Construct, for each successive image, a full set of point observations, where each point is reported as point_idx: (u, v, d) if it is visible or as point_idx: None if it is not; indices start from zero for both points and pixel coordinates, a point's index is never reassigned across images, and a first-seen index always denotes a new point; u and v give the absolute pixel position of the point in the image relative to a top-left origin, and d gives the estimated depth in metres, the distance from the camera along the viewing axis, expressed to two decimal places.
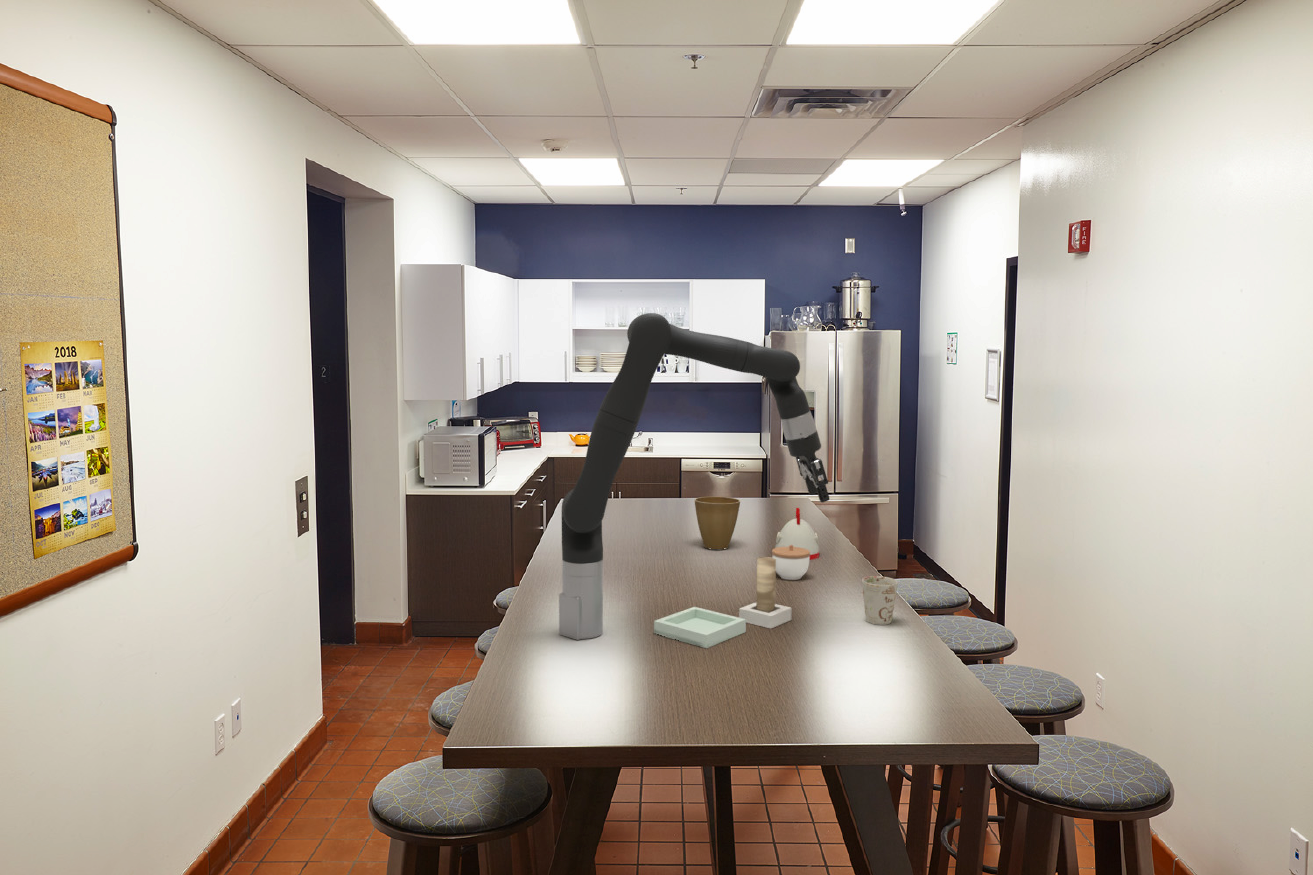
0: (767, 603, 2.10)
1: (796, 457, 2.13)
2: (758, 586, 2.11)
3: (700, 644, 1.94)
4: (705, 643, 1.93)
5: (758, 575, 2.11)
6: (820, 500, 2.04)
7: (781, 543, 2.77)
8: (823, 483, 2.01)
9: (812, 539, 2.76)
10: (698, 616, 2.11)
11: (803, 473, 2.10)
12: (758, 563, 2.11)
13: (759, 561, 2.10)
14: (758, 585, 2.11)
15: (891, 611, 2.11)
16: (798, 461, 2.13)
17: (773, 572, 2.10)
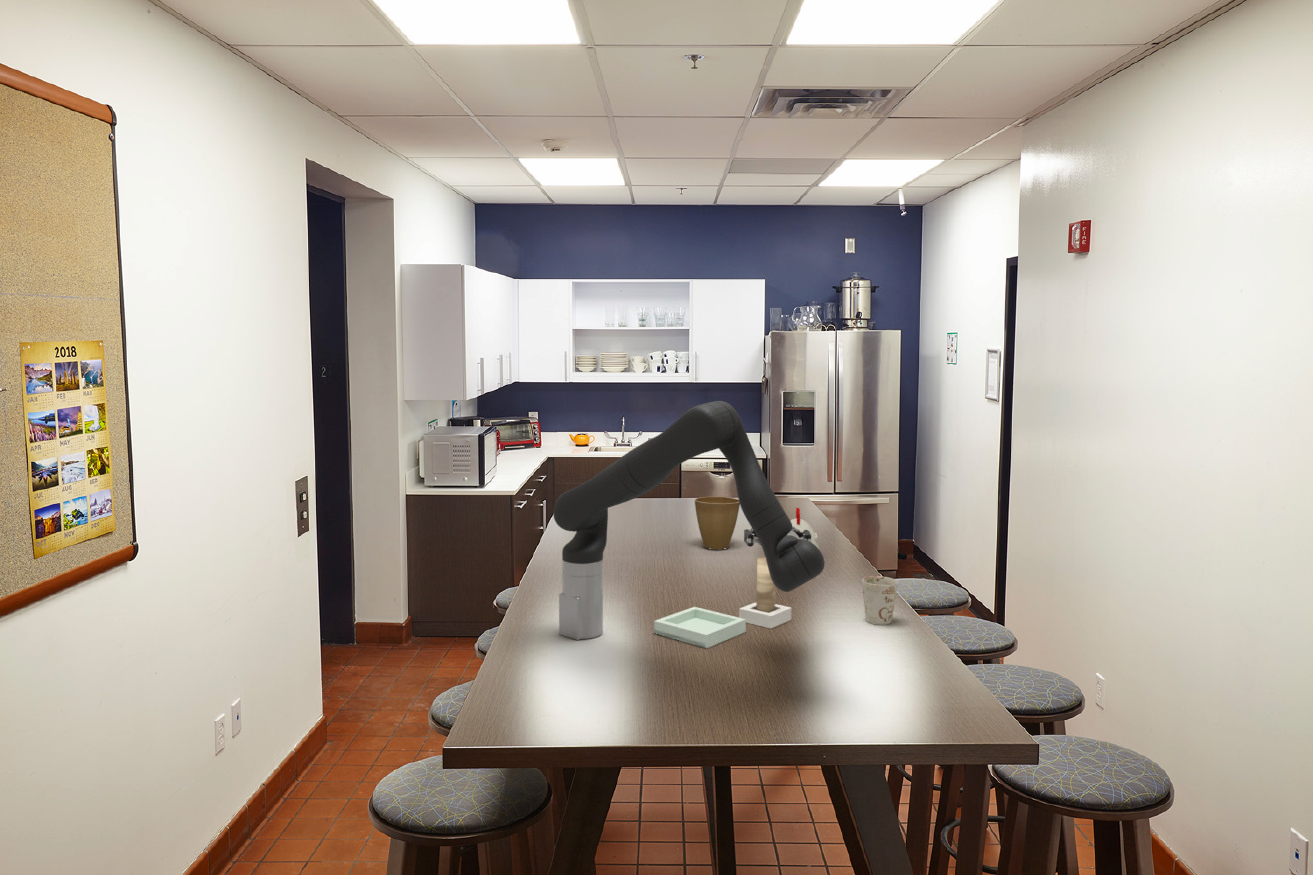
0: (767, 603, 2.10)
1: (807, 534, 1.90)
2: (758, 586, 2.11)
3: (700, 644, 1.94)
4: (705, 643, 1.93)
5: (758, 575, 2.11)
6: None
7: None
8: (744, 535, 1.95)
9: (812, 539, 2.76)
10: (698, 616, 2.11)
11: None
12: (758, 563, 2.11)
13: (759, 561, 2.10)
14: (758, 585, 2.11)
15: (891, 611, 2.11)
16: (804, 534, 1.91)
17: None
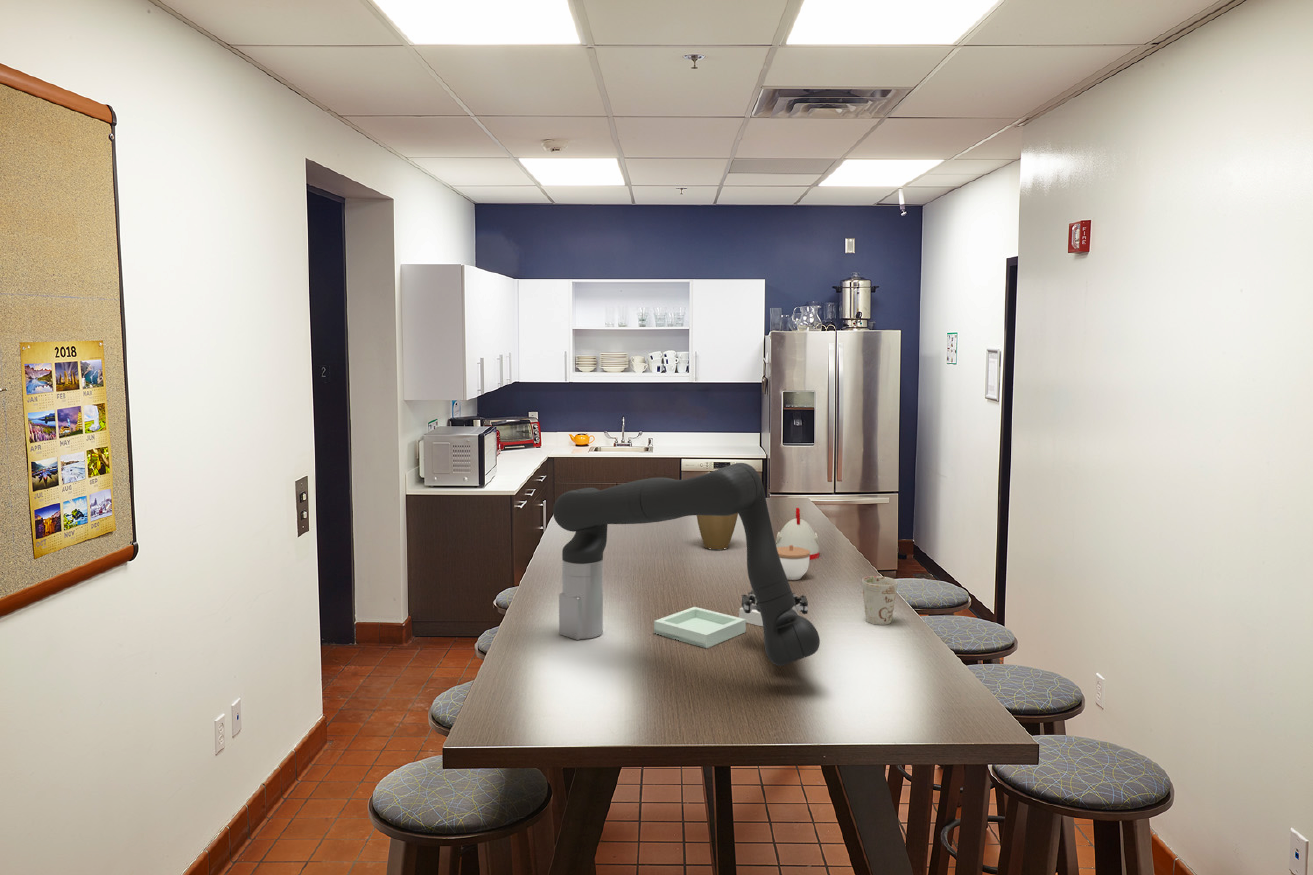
0: None
1: (803, 601, 1.93)
2: None
3: (700, 644, 1.94)
4: (705, 643, 1.93)
5: None
6: (751, 590, 2.02)
7: (781, 543, 2.77)
8: (742, 600, 1.98)
9: (812, 539, 2.76)
10: (698, 616, 2.11)
11: None
12: None
13: None
14: None
15: (891, 611, 2.11)
16: (801, 600, 1.94)
17: None
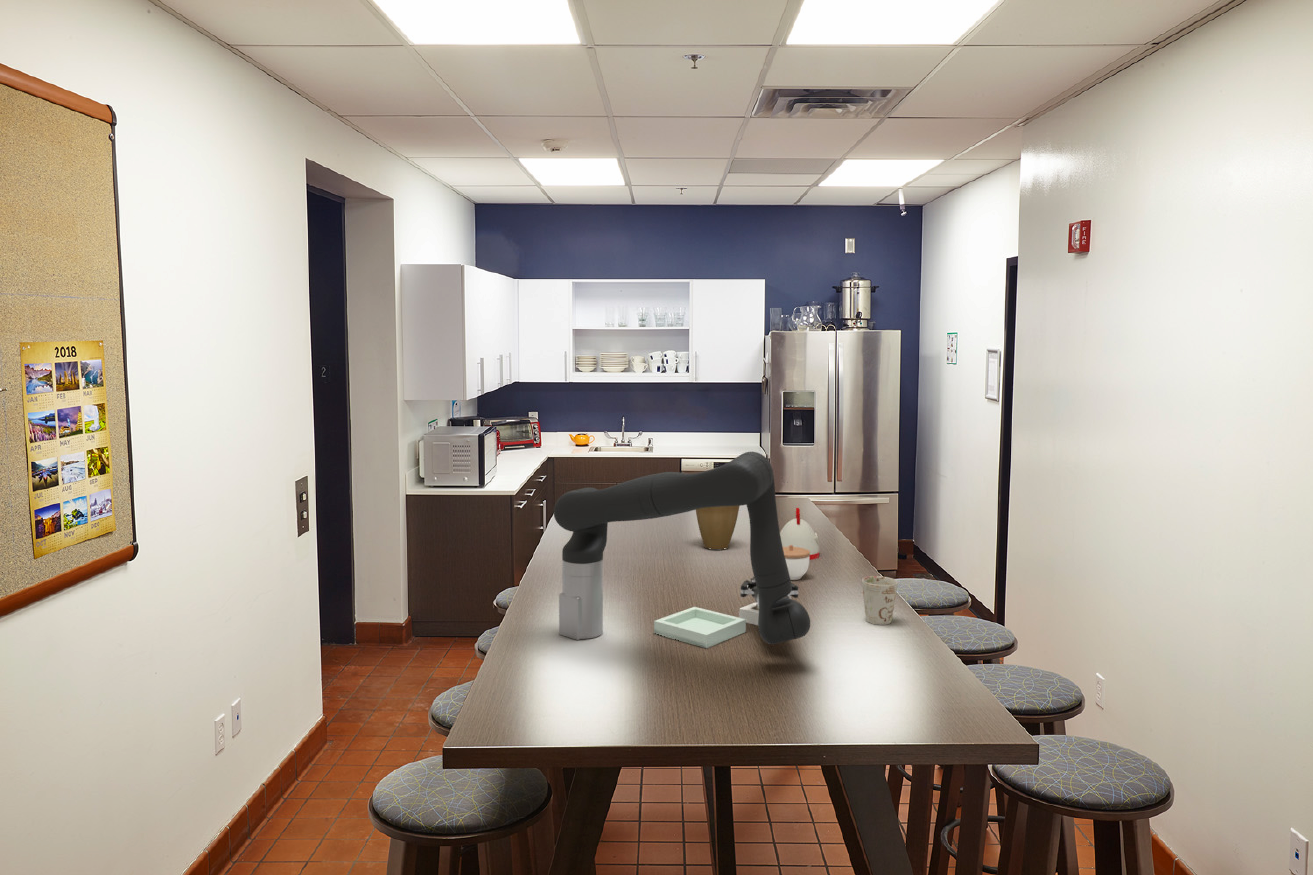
0: None
1: (794, 586, 2.05)
2: None
3: (700, 644, 1.94)
4: (705, 643, 1.93)
5: None
6: None
7: None
8: None
9: (812, 539, 2.76)
10: (698, 616, 2.11)
11: None
12: None
13: None
14: None
15: (891, 611, 2.11)
16: None
17: None
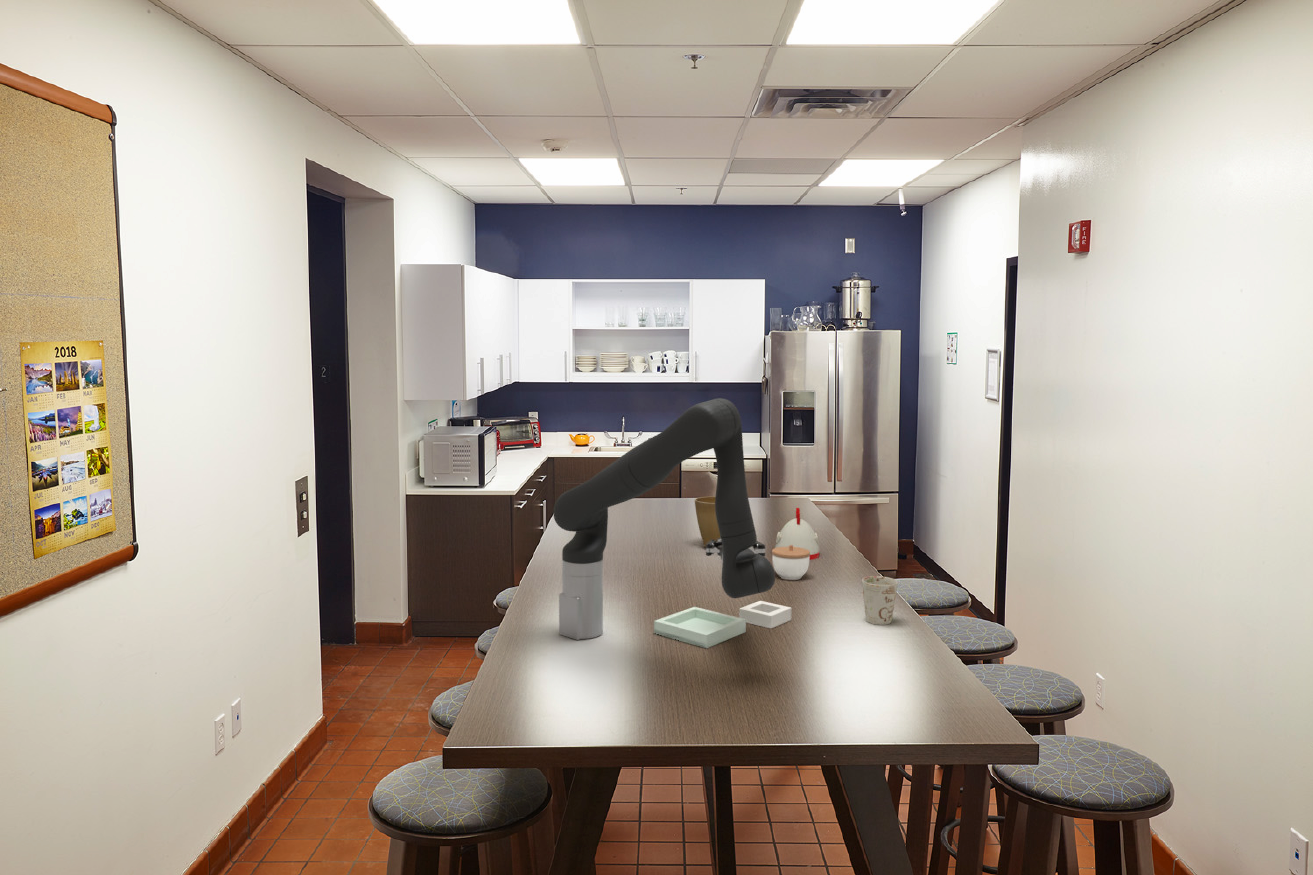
0: None
1: (760, 544, 2.00)
2: None
3: (700, 644, 1.94)
4: (705, 643, 1.93)
5: None
6: None
7: (781, 543, 2.77)
8: None
9: (812, 539, 2.76)
10: (698, 616, 2.11)
11: None
12: None
13: None
14: None
15: (891, 611, 2.11)
16: None
17: None
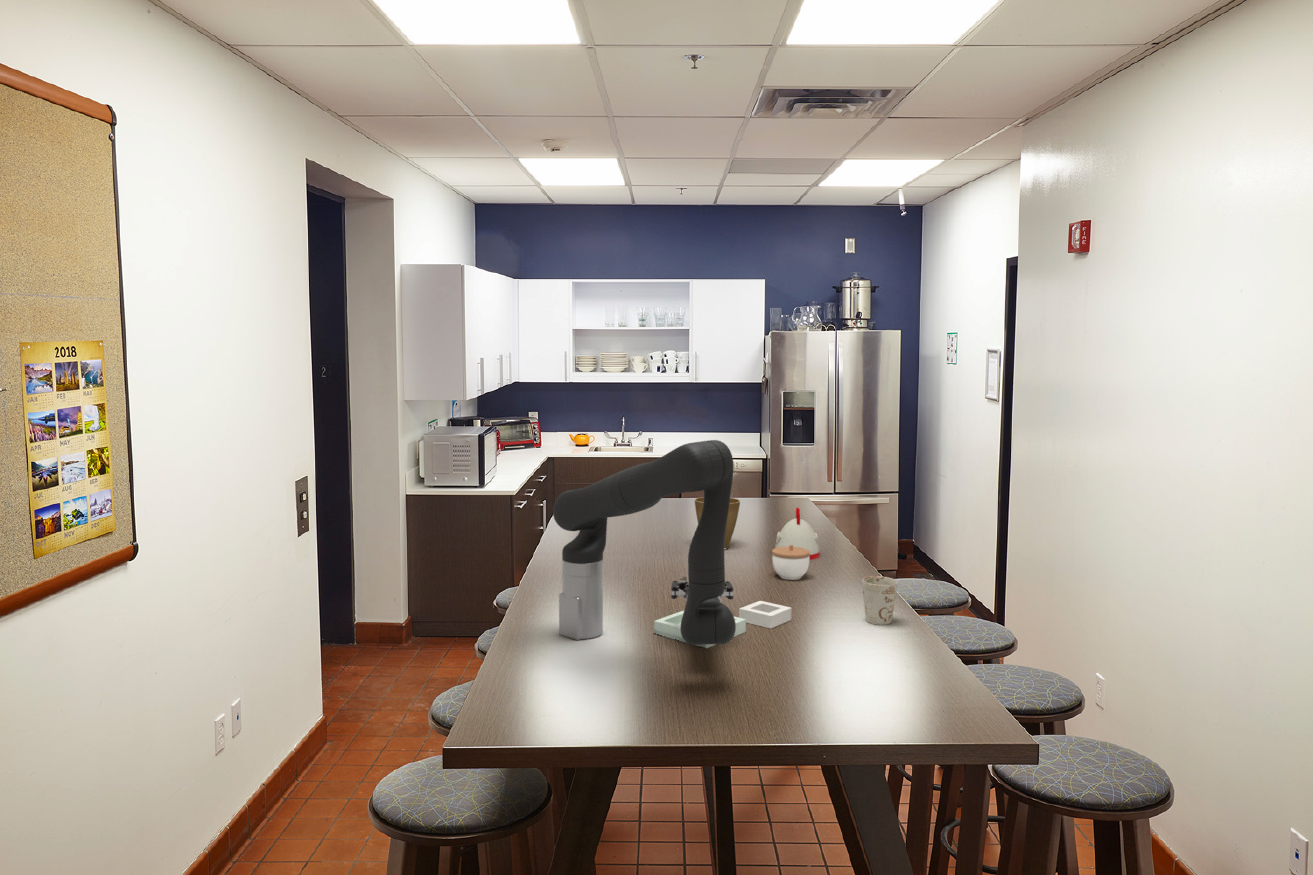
0: None
1: (729, 587, 1.95)
2: None
3: None
4: None
5: None
6: (683, 577, 2.04)
7: (781, 543, 2.77)
8: None
9: (812, 539, 2.76)
10: None
11: None
12: None
13: None
14: None
15: (891, 611, 2.11)
16: (726, 586, 1.96)
17: None
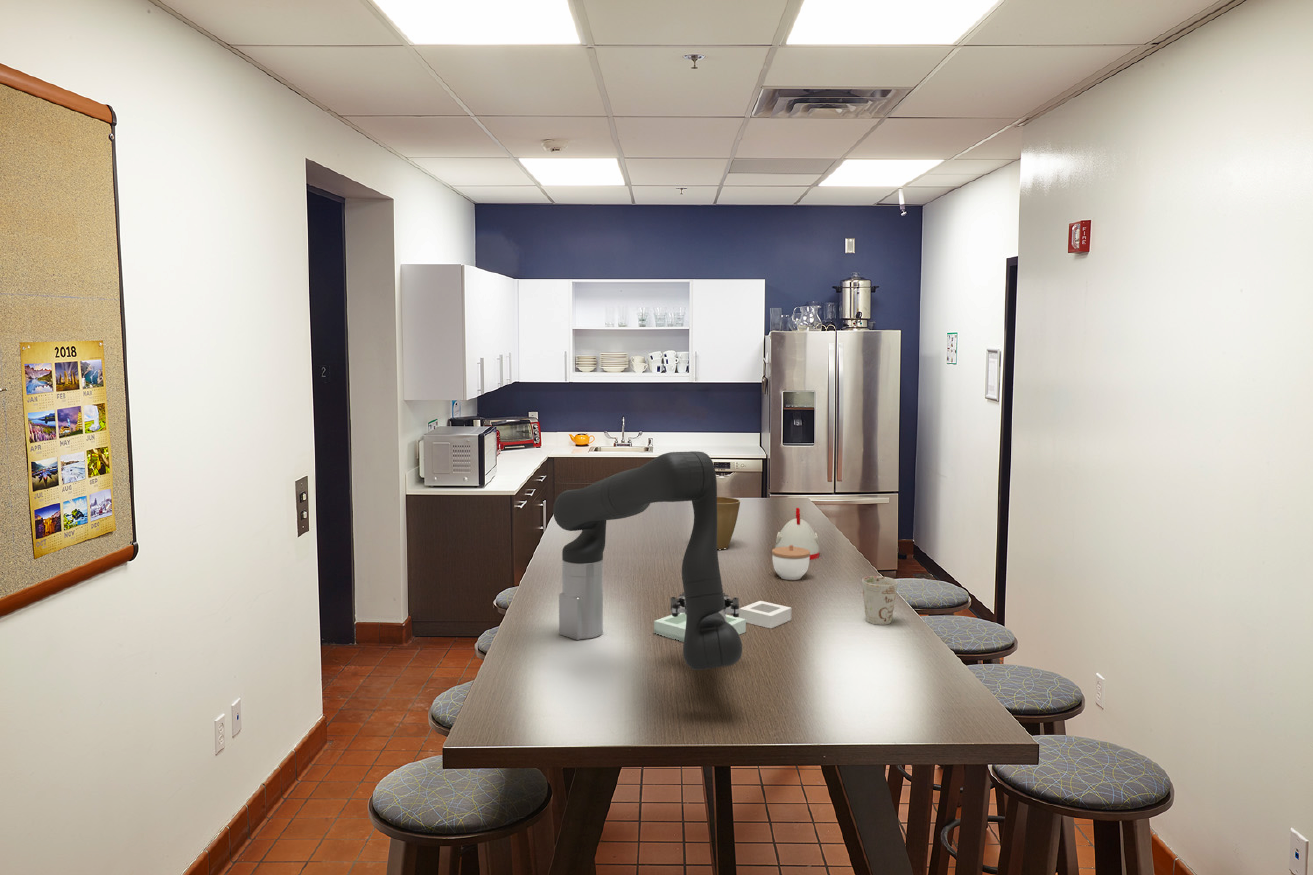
0: None
1: (734, 604, 1.82)
2: None
3: None
4: None
5: None
6: (682, 592, 1.91)
7: (781, 543, 2.77)
8: None
9: (812, 539, 2.76)
10: None
11: None
12: None
13: None
14: None
15: (891, 611, 2.11)
16: (732, 603, 1.83)
17: None
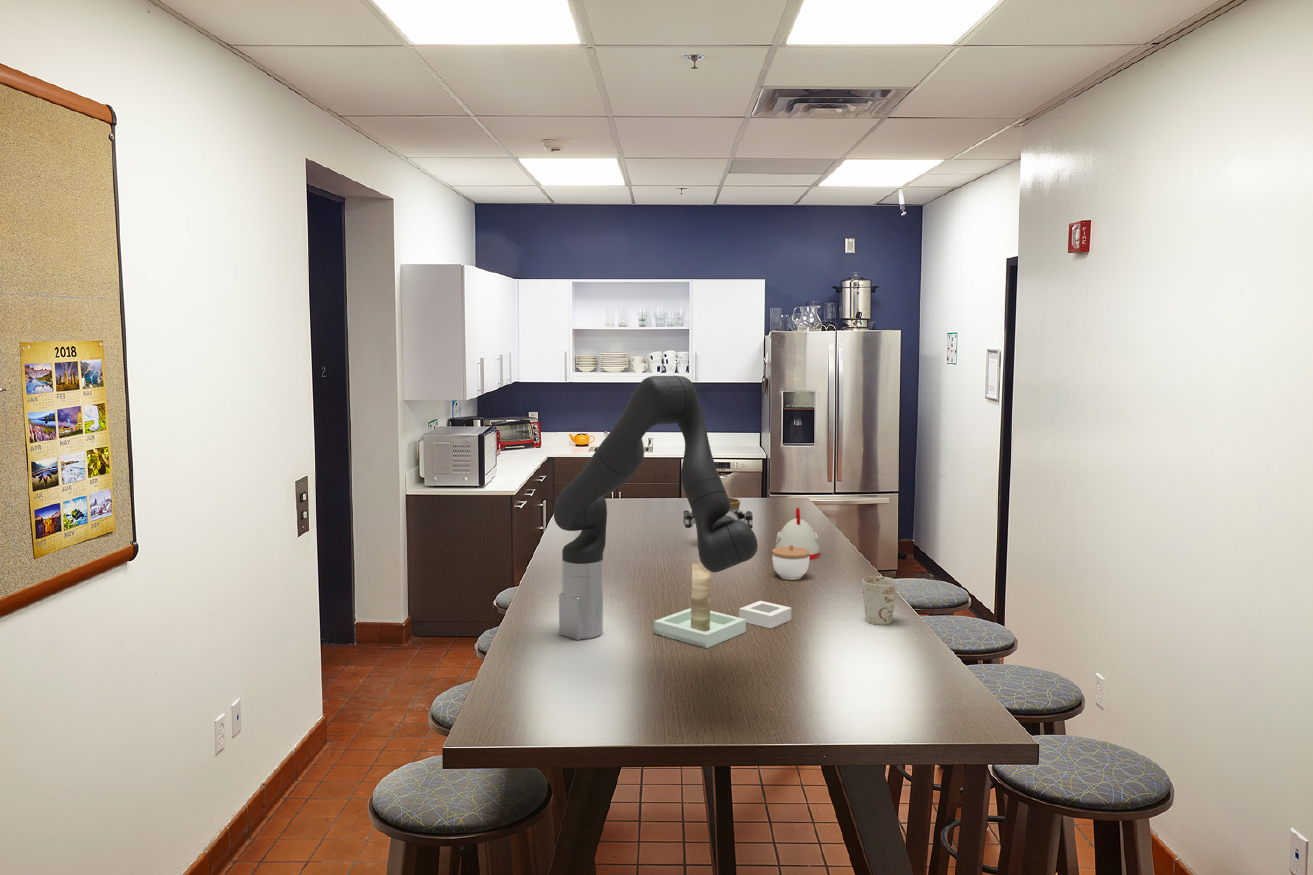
0: (702, 610, 2.00)
1: (748, 515, 1.80)
2: (693, 592, 2.01)
3: (700, 644, 1.94)
4: (705, 643, 1.93)
5: (693, 581, 2.01)
6: None
7: (781, 543, 2.77)
8: None
9: (812, 539, 2.76)
10: None
11: None
12: (693, 568, 2.01)
13: (694, 566, 2.00)
14: (693, 591, 2.01)
15: (891, 611, 2.11)
16: (746, 515, 1.81)
17: (708, 578, 2.00)
